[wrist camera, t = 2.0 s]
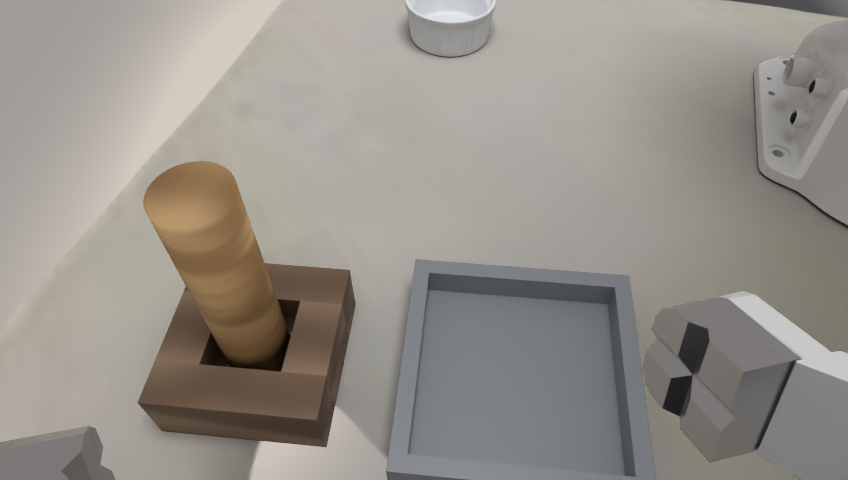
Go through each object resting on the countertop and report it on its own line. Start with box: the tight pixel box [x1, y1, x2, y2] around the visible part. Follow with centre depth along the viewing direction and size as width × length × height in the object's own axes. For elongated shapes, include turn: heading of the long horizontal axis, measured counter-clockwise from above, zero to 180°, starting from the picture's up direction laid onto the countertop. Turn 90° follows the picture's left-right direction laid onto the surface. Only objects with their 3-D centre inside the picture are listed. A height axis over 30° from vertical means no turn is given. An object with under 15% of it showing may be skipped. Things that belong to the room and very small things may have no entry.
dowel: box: [143, 161, 290, 372], centre depth 33 cm, size 4×4×16 cm
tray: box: [386, 259, 656, 480], centre depth 37 cm, size 14×14×3 cm
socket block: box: [138, 263, 355, 447], centre depth 38 cm, size 10×10×4 cm
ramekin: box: [405, 0, 496, 57], centre depth 61 cm, size 9×9×4 cm
